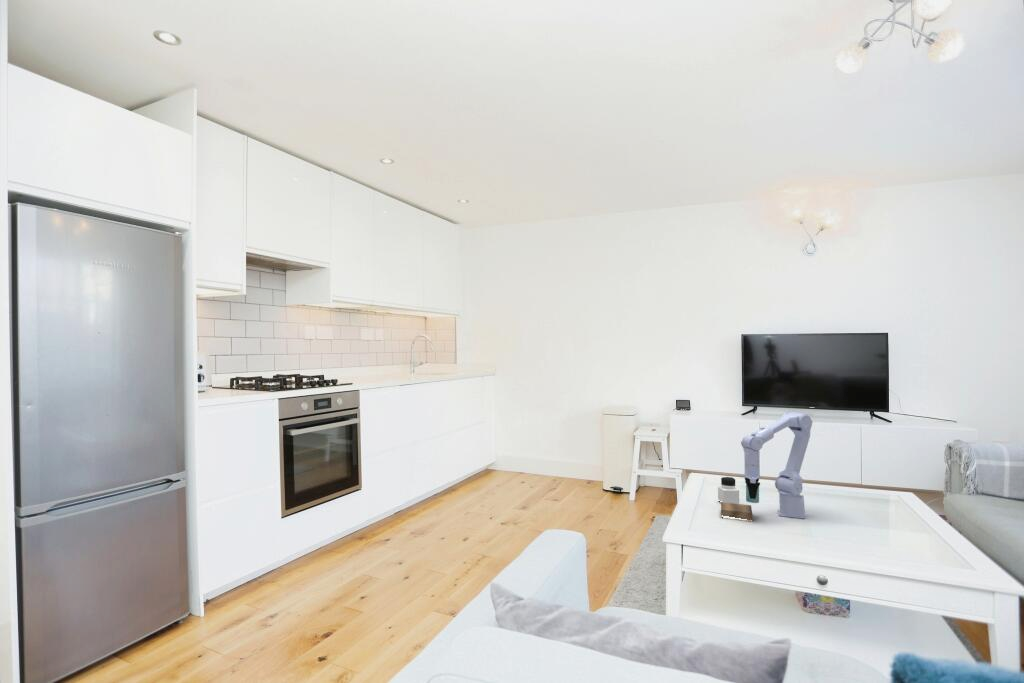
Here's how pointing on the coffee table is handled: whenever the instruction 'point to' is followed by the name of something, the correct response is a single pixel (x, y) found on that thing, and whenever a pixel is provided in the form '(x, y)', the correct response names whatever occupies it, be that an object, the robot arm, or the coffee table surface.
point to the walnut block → (736, 510)
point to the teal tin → (750, 498)
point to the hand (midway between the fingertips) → (752, 496)
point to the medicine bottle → (728, 491)
